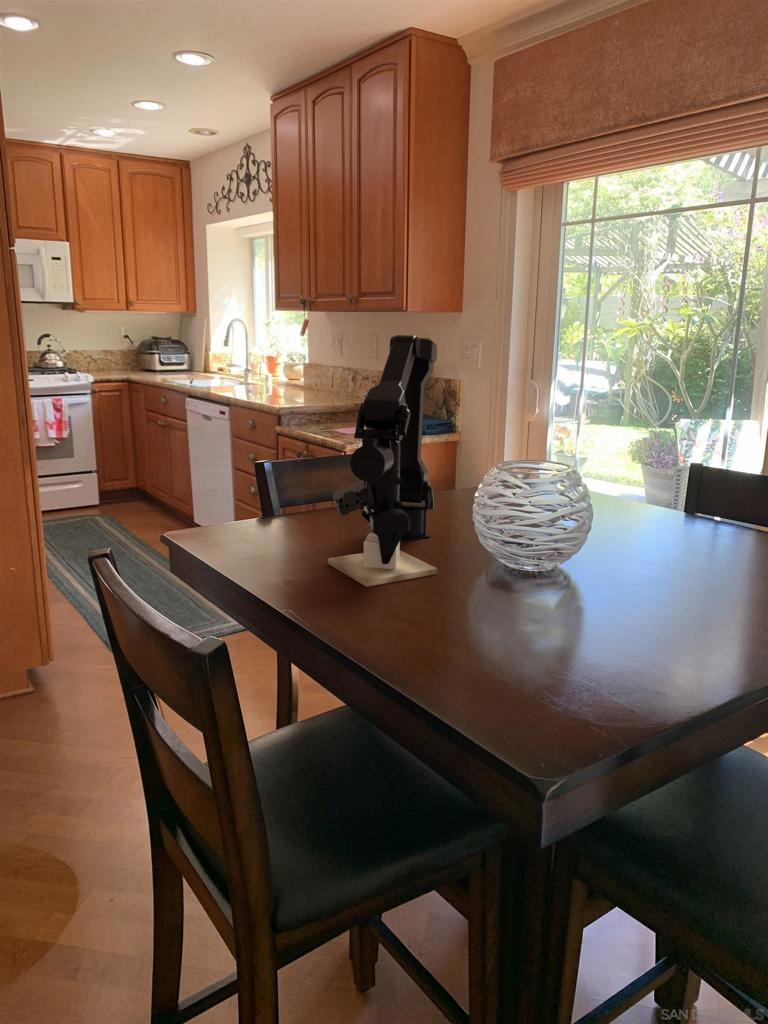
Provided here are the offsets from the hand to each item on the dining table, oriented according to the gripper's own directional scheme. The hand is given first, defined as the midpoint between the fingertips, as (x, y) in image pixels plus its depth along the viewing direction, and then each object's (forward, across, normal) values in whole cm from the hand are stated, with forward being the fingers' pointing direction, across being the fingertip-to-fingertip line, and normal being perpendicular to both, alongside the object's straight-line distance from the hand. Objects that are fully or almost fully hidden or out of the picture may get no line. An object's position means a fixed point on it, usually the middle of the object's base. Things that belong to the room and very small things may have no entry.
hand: (381, 557), depth 132 cm
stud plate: (+2, 0, 0) cm, 2 cm away
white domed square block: (+1, 0, 0) cm, 1 cm away
